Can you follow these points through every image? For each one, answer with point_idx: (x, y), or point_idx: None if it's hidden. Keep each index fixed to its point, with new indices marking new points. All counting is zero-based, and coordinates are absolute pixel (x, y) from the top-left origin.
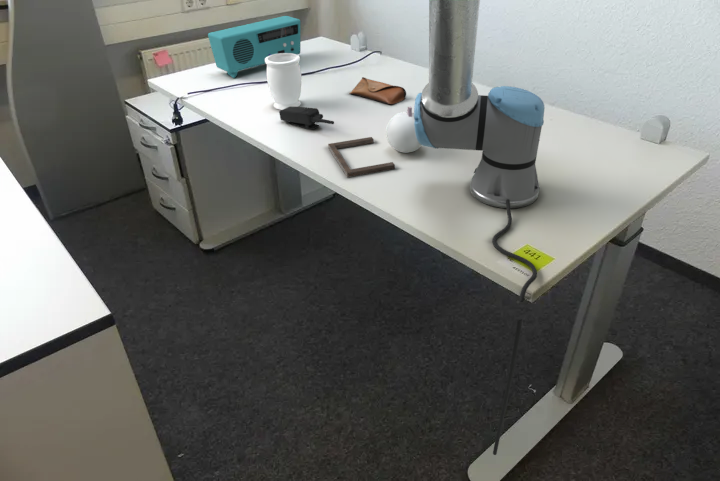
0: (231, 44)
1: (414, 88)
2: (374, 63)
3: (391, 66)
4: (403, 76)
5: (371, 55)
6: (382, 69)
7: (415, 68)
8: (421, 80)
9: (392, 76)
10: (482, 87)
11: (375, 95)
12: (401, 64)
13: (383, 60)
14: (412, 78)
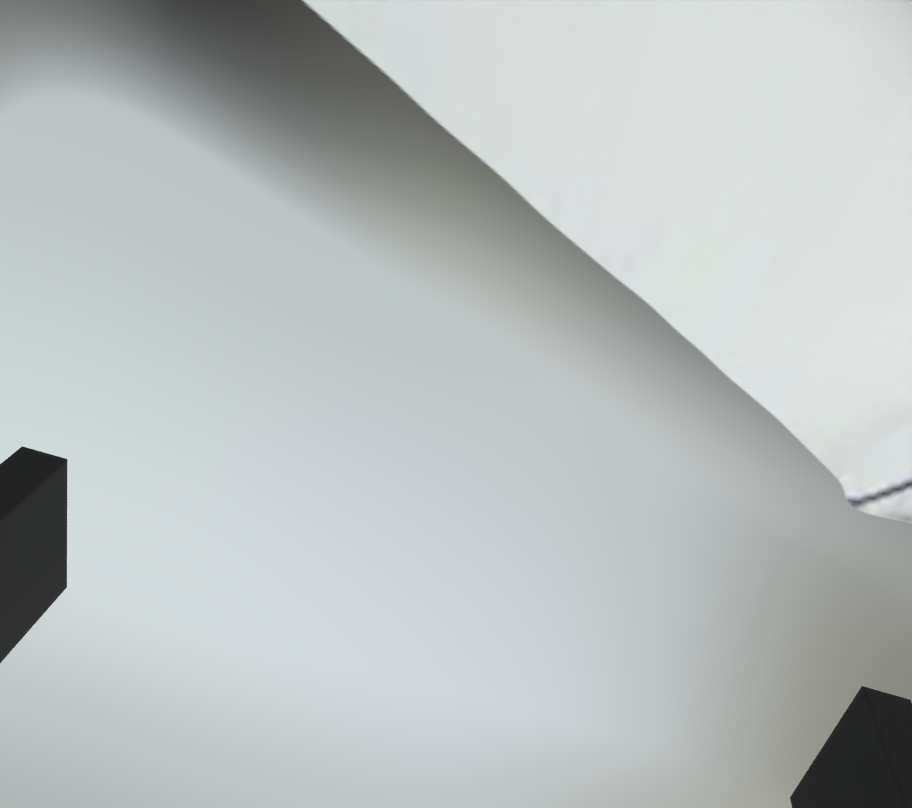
0: None
1: (834, 146)
2: (906, 432)
3: (837, 393)
4: (828, 294)
5: (877, 488)
6: (901, 377)
7: (727, 355)
8: (747, 237)
9: (889, 305)
10: (428, 103)
11: None
12: (779, 399)
13: (846, 444)
14: (788, 266)
